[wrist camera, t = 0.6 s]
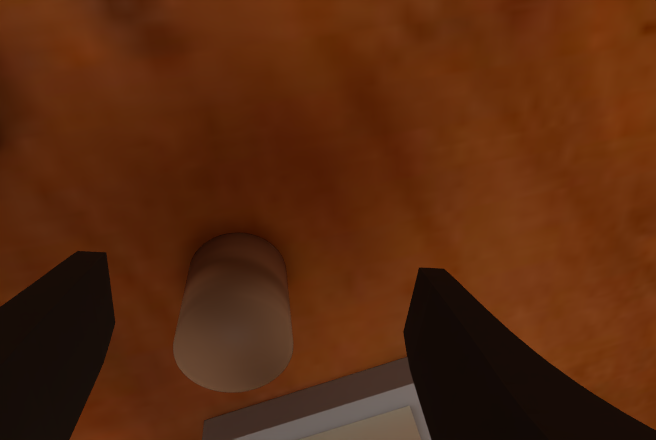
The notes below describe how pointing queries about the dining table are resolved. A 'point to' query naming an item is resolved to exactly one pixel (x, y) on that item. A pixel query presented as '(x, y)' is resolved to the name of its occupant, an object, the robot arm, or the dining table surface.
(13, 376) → the robot arm
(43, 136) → the dining table surface
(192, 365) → the walnut cylinder
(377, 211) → the dining table surface
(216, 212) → the dining table surface
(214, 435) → the tower base
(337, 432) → the tower top
